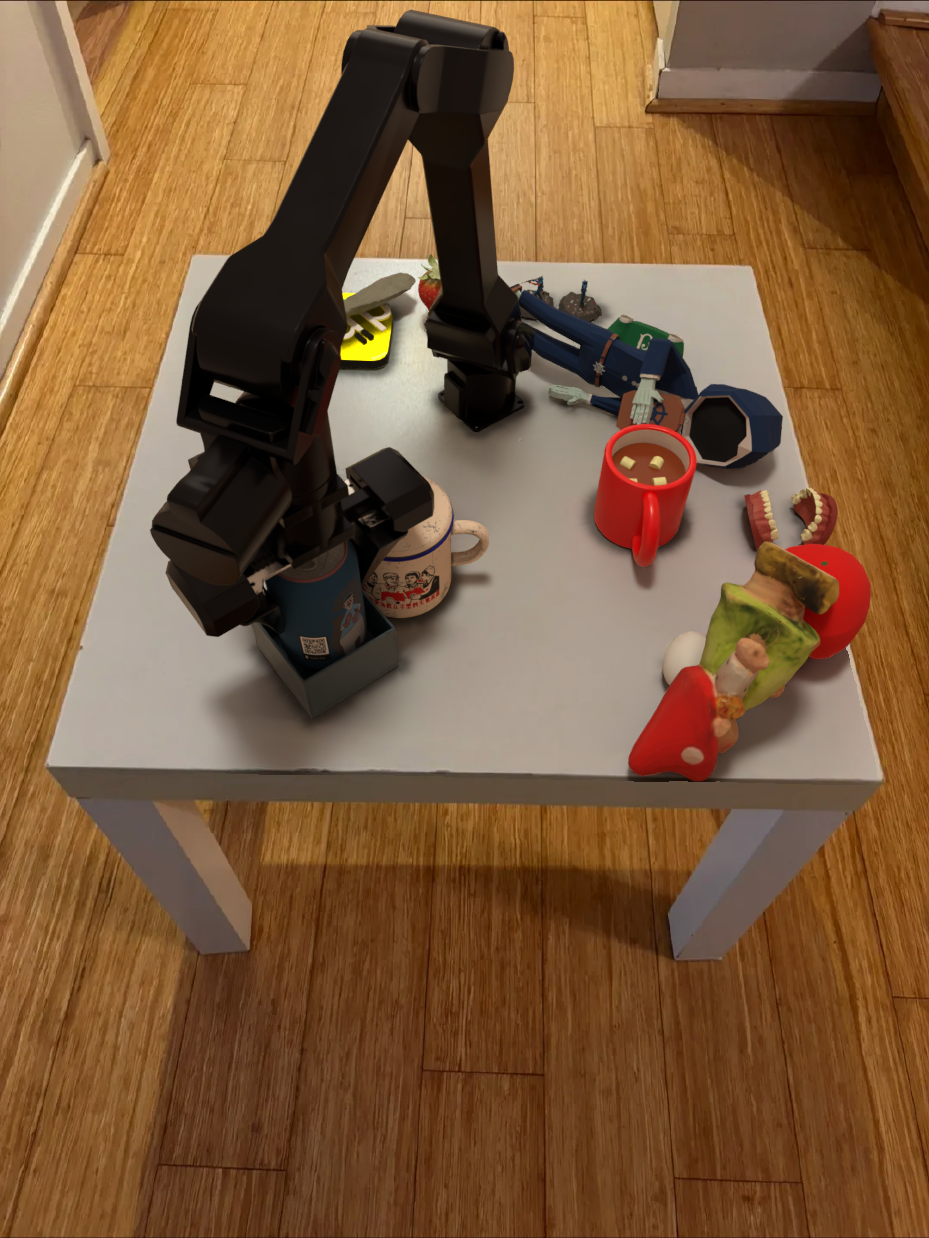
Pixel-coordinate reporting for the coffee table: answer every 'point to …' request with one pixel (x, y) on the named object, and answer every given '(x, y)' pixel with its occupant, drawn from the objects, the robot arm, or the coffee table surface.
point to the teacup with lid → (423, 562)
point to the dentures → (807, 503)
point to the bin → (343, 675)
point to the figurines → (567, 302)
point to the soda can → (321, 607)
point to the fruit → (429, 283)
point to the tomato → (850, 605)
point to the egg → (683, 654)
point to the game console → (367, 338)
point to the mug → (644, 488)
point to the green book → (642, 333)
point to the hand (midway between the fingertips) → (318, 605)
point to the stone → (378, 293)
